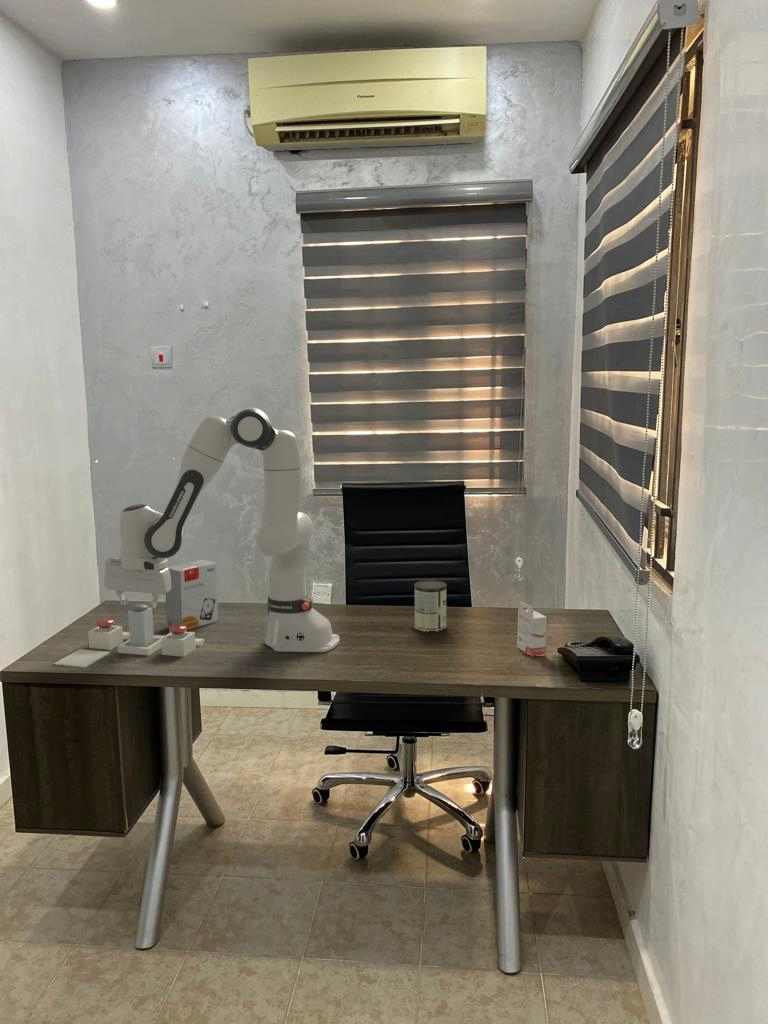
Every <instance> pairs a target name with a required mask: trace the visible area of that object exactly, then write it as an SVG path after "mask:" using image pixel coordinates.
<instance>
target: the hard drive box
mask: <svg viewBox="0 0 768 1024" xmlns="http://www.w3.org/2000/svg"><path fill="white" fill-rule="evenodd" d="M217 566H218V565H217V562H216V561H215V562H214V561H210V560H205V559H197V560H195V561H189V562H185V563H181V564H175V565H173V566H166V567H167V568H168V569H169V571H170V575H171V590H170V591H169V592H168V593H166V594H164V595H165V612H166V613H165V615H166V628H167V629H169V627H170V626H172V625H177V624H183V625H186V626H187V630H186V631H190V630H191V631H192V630H193V629H195V628H200V627H202V626H205V625H210V624H212V623H215V622H219V613H218V612H219V609H218V607H219V605H218V603H219V602H218V574H217V573H218V571H217V570H218V567H217Z"/></svg>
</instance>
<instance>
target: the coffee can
mask: <svg viewBox="0 0 768 1024" xmlns="http://www.w3.org/2000/svg"><path fill="white" fill-rule="evenodd" d="M413 586H414V628H415V629H416V630H417V631H420V632H426V631H427V632H429V631H436V632H439V631H438V630H441V631H443V630H442V629H444V628H445V629H447V587H448V585H447V583H446V582H444V581H441V580H431V579H428V580H426V579H425V580H420V581H417V582H415V583H414V585H413ZM445 629H444V630H445ZM429 633H430V632H429Z"/></svg>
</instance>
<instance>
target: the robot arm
mask: <svg viewBox="0 0 768 1024" xmlns="http://www.w3.org/2000/svg"><path fill="white" fill-rule="evenodd" d="M237 444H240V445H241V446H243V447H246V448H249V449H254V450H259V451H260V452H261V455H262V463H263V465H262V467H263V487H264V489H263V490H264V501H263V506H262V507H263V508H262V514H261V522H260V527H259V528H258V532H257V534H256V544H257V545H256V546H257V547H258V549H259V550H260V551H261V553H263V554H264V555H265V556H268V557H272V560H271V563H270V565H269V569H268V573H267V575H268V576H267V577H268V596H267V614H268V624H267V631H266V635H265V639H264V643H265V645H267V646H268V647H269V648H272V649H273V651H274V652H282V653H283V652H287V653H289V652H293V653H295V652H296V653H326V652H329V651H331V650H333V649H335V648H336V647H337V646H338V645H339V643H340V636H339V634H335V633H333V629H332V626H331V622H330V620H329V619H328V618H326V617H325V616H324V615H322V614H321V613H320V612H319V611H317V610H316V609H314V608H313V602H314V597H311V598H310V597H309V596H308V595H307V587H306V586H307V584H306V577H307V576H306V575H307V574H306V571H307V562H308V556H309V550H310V549H309V548H310V542H311V537H312V534H313V531H314V523H313V520H312V519H311V517H310V516H309V515H308V514H306V513H305V512H302V511H299V508H300V503H301V500H302V498H303V492H304V491H303V473H302V469H303V468H302V458H301V451H300V446H299V442H298V439H297V436H296V435H295V434H294V433H293V432H291V431H290V430H285V429H277V428H274V426H272V423H271V420H270V418H269V416H268V415H267V414H266V413H265V412H264V411H263V410H261V409H259V408H257V407H252V406H251V407H245V408H243V409H240V411H238V412H237V413H236V414H235V415H234V416H232V417H230V418H229V419H227V418H224V417H222V416H218V415H209V416H207V417H205V418H204V419H203V421H202V422H201V423H200V425H199V426H198V427H197V429H196V430H195V431H194V433H193V435H192V437H191V439H190V440H189V443H188V444H187V446H186V449H185V451H184V454H183V456H182V458H181V459H182V461H181V463H180V467H179V472H178V478H177V481H176V486H175V489H174V490H173V491H174V492H173V494H172V496H171V498H170V500H169V502H168V504H167V506H166V508H165V510H164V512H163V513H162V512H160V511H158V510H156V509H153V508H152V507H150V506H148V505H147V504H144V503H142V504H141V503H139V504H134V505H129V506H128V507H126V508H124V509H123V510H122V511H121V513H120V515H119V523H118V524H119V526H118V527H119V539H120V544H121V545H120V549H119V550H120V551H119V552H120V554H119V556H120V558H115V557H110V558H108V559H107V560H105V562H104V571H105V572H104V580H103V581H104V583H103V584H104V588H105V589H106V590H112V591H115V593H116V595H117V597H118V599H119V603H120V605H121V606H126V605H128V604H129V598H127V597H126V596H125V592H130V593H131V592H133V593H140V594H141V593H143V594H151V597H152V600H150V601H148V607H149V608H152V609H155V608H157V606H158V605H157V602H158V599H159V598H160V596H161V595H165V594H166V593H168V592H169V591H170V590H171V575H170V571H169V569H168V568H167V567H168V566H169V559H168V558H171V557H173V556H175V555H176V554H177V553H179V551H180V549H181V546H182V541H183V539H184V536H185V533H186V532H185V531H186V530H185V522H186V520H188V517H189V514H190V512H191V510H192V508H193V507H194V505H195V502H196V501H197V499H198V497H199V496H200V495H201V494H202V493H203V491H204V490H205V489H206V487H208V485H209V484H210V483H211V482H212V480H213V479H214V478H215V477H216V475H218V472H219V471H220V469H221V468H222V466H223V464H224V462H225V459H226V458H227V455H228V453H229V452H230V450H231V449H232V448H233V447H234V446H235V445H237Z"/></svg>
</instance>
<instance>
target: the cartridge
mask: <svg viewBox="0 0 768 1024" xmlns="http://www.w3.org/2000/svg"><path fill="white" fill-rule="evenodd" d="M153 614H154V613H153V608H149V604H145V603H138V604H134V605H132V606H131V609H130V610H128V611H127V618H128V633H129V637H130V646H136V647H149V646H150V645H152V644H153V643H154V635H155V633H154V618H153V617H154V616H153Z"/></svg>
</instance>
